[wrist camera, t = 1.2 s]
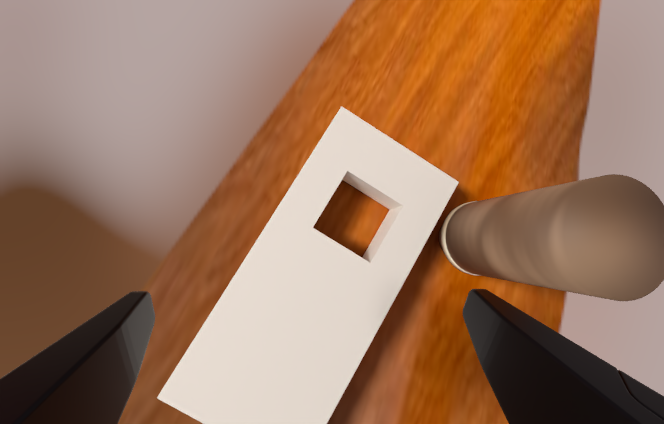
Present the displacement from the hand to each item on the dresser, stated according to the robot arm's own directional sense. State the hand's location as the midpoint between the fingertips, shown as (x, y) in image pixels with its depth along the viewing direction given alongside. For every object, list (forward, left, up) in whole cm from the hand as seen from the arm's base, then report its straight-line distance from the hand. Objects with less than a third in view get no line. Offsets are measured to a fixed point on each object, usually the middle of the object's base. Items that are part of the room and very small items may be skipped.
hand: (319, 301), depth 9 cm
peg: (+3, -12, -15) cm, 20 cm away
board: (-1, -1, -15) cm, 15 cm away
